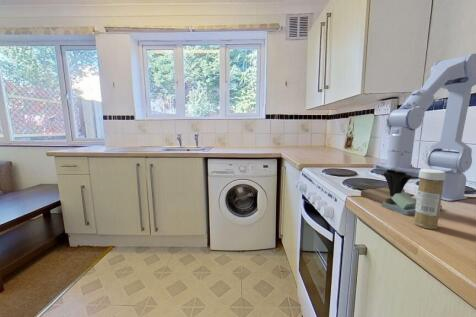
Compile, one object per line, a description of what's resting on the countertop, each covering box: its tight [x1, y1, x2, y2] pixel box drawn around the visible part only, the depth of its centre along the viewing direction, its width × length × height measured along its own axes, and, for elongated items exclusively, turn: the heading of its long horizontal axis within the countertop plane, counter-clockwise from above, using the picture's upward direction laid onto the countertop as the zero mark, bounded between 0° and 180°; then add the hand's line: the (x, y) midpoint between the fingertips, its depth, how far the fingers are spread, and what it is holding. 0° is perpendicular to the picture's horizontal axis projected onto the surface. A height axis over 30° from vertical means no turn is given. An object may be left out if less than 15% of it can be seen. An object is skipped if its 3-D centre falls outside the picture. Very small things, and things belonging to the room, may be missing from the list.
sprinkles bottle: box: [413, 168, 446, 230], centre depth 53 cm, size 5×5×13 cm
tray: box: [381, 202, 443, 216], centre depth 65 cm, size 14×7×1 cm, turn 109°
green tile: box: [391, 192, 416, 209], centre depth 64 cm, size 4×4×2 cm
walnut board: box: [360, 186, 415, 205], centre depth 73 cm, size 12×9×2 cm
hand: (394, 196), depth 67 cm, fingers closed
